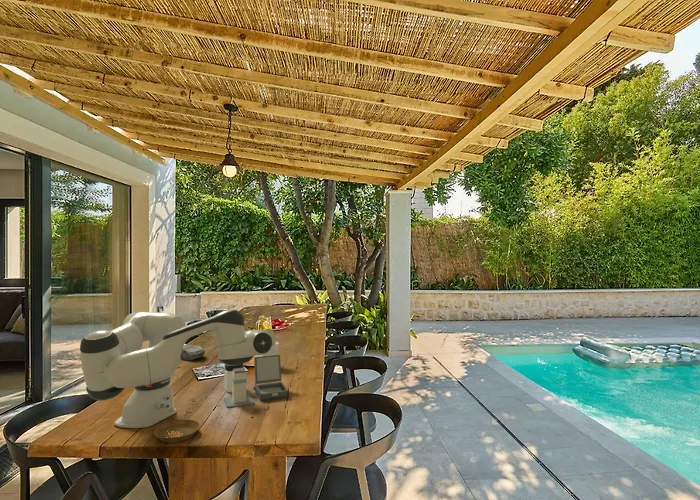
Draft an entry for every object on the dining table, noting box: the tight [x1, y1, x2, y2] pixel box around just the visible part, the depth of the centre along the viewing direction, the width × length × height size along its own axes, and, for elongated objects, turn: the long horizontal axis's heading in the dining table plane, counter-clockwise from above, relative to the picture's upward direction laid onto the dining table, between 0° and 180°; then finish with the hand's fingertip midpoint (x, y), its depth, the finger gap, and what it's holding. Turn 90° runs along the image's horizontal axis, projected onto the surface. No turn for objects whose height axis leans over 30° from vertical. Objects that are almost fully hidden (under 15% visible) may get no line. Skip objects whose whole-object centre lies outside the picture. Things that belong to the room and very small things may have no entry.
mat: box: [223, 393, 256, 409], centre depth 174 cm, size 11×11×1 cm
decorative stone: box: [180, 344, 206, 361], centre depth 242 cm, size 15×14×10 cm
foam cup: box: [261, 341, 280, 356], centre depth 225 cm, size 10×9×13 cm
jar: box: [223, 363, 244, 393], centre depth 189 cm, size 9×8×12 cm
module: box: [231, 367, 247, 403], centre depth 174 cm, size 5×5×13 cm
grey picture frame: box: [253, 354, 282, 385], centre depth 189 cm, size 12×12×1 cm
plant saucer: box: [153, 419, 201, 443], centre depth 142 cm, size 15×15×3 cm
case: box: [252, 381, 290, 402], centre depth 184 cm, size 19×12×9 cm, turn 23°
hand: (243, 341), depth 165 cm, fingers open, 8 cm apart
